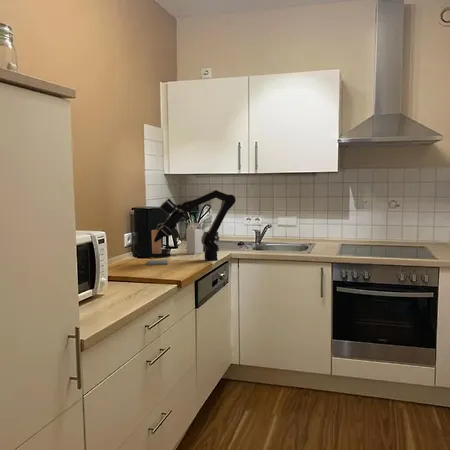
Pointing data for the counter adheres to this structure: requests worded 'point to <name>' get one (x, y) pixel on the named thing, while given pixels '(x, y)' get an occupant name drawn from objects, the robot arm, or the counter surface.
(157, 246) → the brown rounded tapered cylinder
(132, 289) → the counter surface
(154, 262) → the gray panel
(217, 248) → the supplement container
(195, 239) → the milk carton
